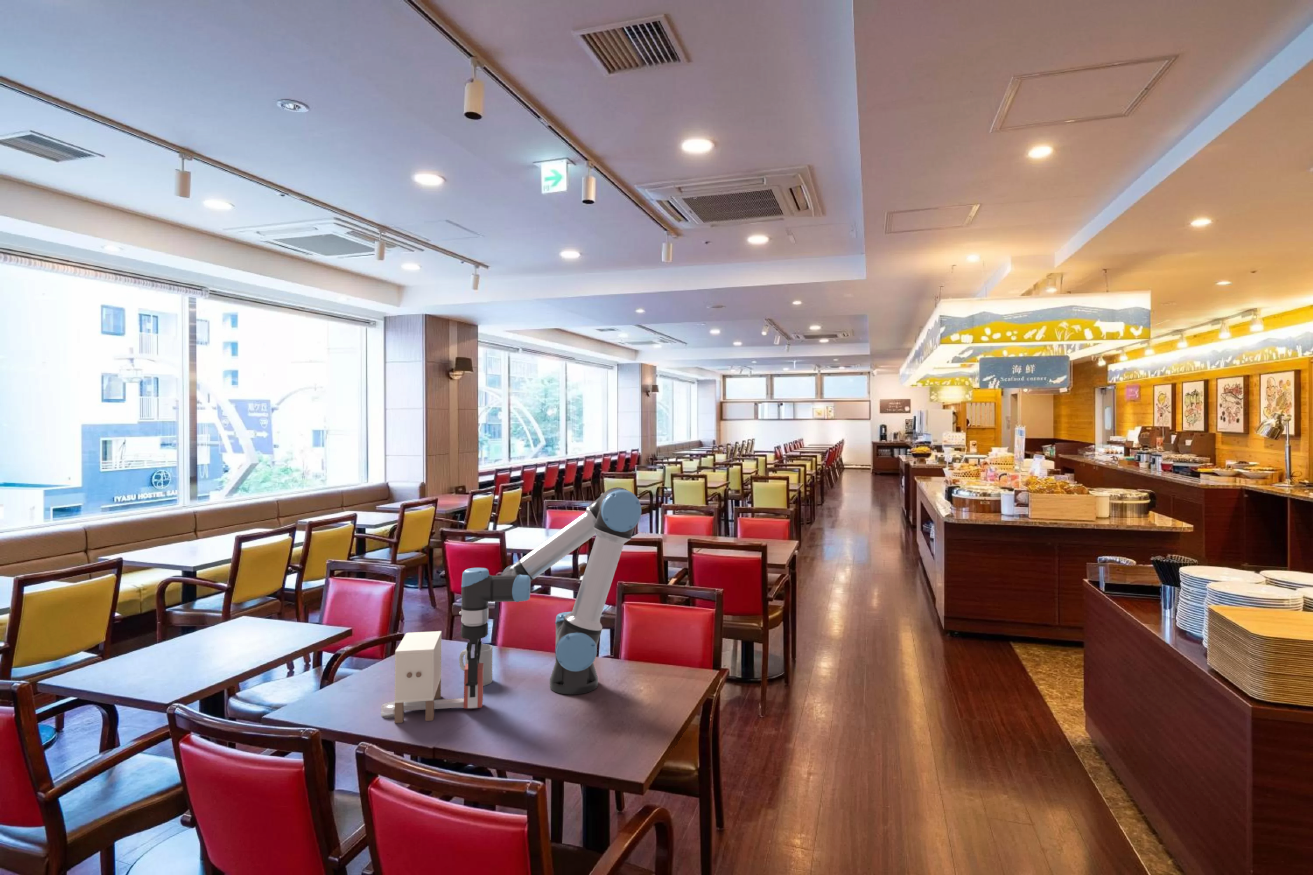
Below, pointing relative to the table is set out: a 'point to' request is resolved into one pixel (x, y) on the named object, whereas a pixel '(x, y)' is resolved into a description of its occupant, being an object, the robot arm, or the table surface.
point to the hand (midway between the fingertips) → (473, 703)
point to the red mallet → (453, 702)
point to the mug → (484, 658)
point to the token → (388, 710)
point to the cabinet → (418, 672)
